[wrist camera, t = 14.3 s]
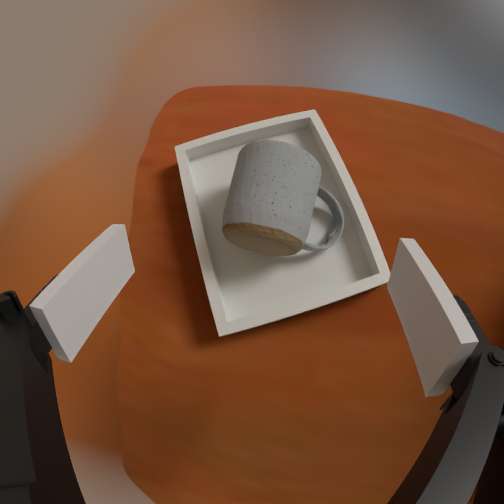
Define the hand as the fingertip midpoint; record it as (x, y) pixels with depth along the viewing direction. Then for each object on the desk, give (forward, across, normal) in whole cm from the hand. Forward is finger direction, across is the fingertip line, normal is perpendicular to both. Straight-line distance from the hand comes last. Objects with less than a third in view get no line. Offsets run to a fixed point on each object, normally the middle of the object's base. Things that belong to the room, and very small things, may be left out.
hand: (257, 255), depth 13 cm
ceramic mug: (+15, +1, -5) cm, 16 cm away
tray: (+16, 0, -5) cm, 17 cm away
